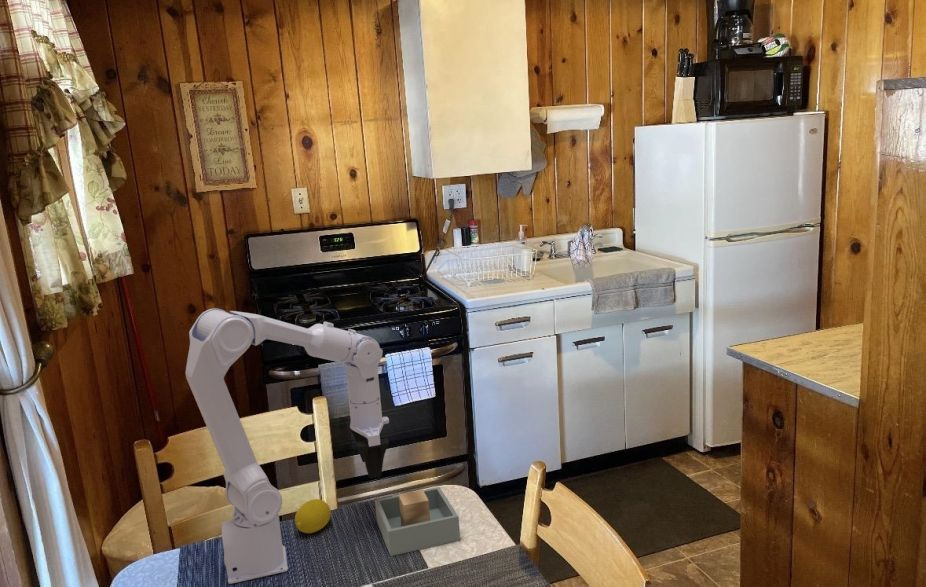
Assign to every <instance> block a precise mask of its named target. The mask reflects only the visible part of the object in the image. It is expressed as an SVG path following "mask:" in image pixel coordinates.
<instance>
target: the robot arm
mask: <svg viewBox="0 0 926 587" xmlns="http://www.w3.org/2000/svg"><path fill="white" fill-rule="evenodd" d="M188 336H189V348H188V349H189V350H188V354H187V360H186V366H185V373H184V374H185V380H187V383H188V385H189V388H190V390H191V392H192V395H193V396H194V399H195V402H196V404H197V407H198V409H199V411H200V414H201V416H202V418H203V421H204V423H205V425H206V427H207V430H208V433H209V436H210V437H211V440H212V442H213V444H214V446H215V449H216V451H217V453H218V454H217V455H218V456H219V460H220V461H221V463H222V466H223V468H224V472H223V478H224V480H225V496H226V500H227V501H228V503H229V504H231V506H233V507H234V508H233V509H234V511H233V514H232V515H233V517H232V518H231V519H229V520H226V521H223V522H221V538H222V546H223V554H224V555H223V563H224V566H225V568H226V576H227V584H229V585H231V584H236V583H241V582H245V581H249V580H254V579H255V580H256V579H258V578H263V577H268V576H271V575H276V574H279V573H280V574H281V573H285V572H287V571H288V570H289V568H288V559H287V552H286V546H285V545H283V540H282V539H283V538H282V533H281V532H282V531H281V524H280V515H279V513H280V511H281V509H282V506H283V498H282V494H281V492H280V490H279V489H277V488H276V487H274V486H273V485H272V484H271V482H270V481H269V478H268V475H266V473H265V471H264V470H263V469H262V467H261V465H260V464H259V463H258V460H257V458H256V456H255V453H254V451H253V448H252V446H251V444H250V440H249V438H248V436H247V433H246V431H245V428H244V427H243V426H244V425H243V423H242V421H241V419H240V416H239V414H238V411H237V409H236V406H235V403H234V401H233V399H232V397H231V394H230V392H229V389H228V386H227V384H226V382H225V376H226V374H227V372H228V371H229V369H230V367H231V366H232V365H233V364H234V363H235V362H236V361H238V359H239V358H240V357H241V356H242V355H243V354H244V353H245V352H247V350H248V349H249V348H250V346H251V345H253V346H258V345H260V344H261V343H263V341H265V340H270V341H276V342H281V343H285V344H290V345H295V346H300V347H303V348H304V350H305V352H306V353H307V355H309V356H310V357H313V358H319V359H323V360H328V361H332V362H336V363H341V364H344V366H345V377H346V386H347V396H348V405H349V406H348V407H349V416H350V423H349V426H348V430H349V431H350V433H351V434H352V435H353V437H354V440H355V445H356V447H357V449H358V452H359V455H360V459H361V461H362V463H364V464H365V469H366V473H367V476H368V477H369V479H376V478H380V477H382V473H383V465H384V459H385V455H386V451H387V449H388V447H389V443H390V442H389V440H388V438H383V439H381V436H380V434H381V431H382V429H383V427H384V425H387V424H389V423H390V419H389V417H388V416H383V413H382V412H383V411H382V403H381V392H380V391H381V390H380V382H379V381H380V380H379V364H380V362H381V360H382V358H383V352H384V351H383V349H381V346H380V344H379V342H378V341H377V340H376V339H375V338H374V337H371V336H368V335H365V334H361V333H357V331H356V330H354V329H351V328H348V330H345V329H342V328H341V329H340V328H338V327H334V323H332V322H328V321H323V324H322V323H315V324H313V325H312V326H310V327H308V328H307V327H303V326H299V325H296V324H292V323H289V322H285V321H282V320H279V319H275V318H271V317H267V316H264V315H261V314H258V313H257V314H256V313H250V312H243V311H236V310H229V312H227V311H226V310H224V309H221V308H209V309H208V310H205V311H203V312H202V313H201V314H200V315H199V316H198V317H197V318H196V320H195V322H194V323H193V325H192V327H191V328H190V330H189V332H188Z"/></svg>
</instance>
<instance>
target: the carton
mask: <svg viewBox="0 0 926 587" xmlns="http://www.w3.org/2000/svg"><path fill="white" fill-rule="evenodd" d="M423 490H424V489H419V490H415V491H408V492H404V493H399V494H397V495H398V496H399V507H400V518H401V526H402V527H403V526H408V525H412V524H417V523H421V522H426V521H430V511H429V500H428V498H427V497H426V495H425V493H424V491H423Z"/></svg>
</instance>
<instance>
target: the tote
mask: <svg viewBox="0 0 926 587" xmlns="http://www.w3.org/2000/svg"><path fill="white" fill-rule="evenodd" d="M422 490H423V491H424V493H425V495H426V497H427V498H428V500H429V511H430V521H426V522H421V523H417V524H412V525H408V526H403V527H402V526H401V518H400V507H399V496H398V494H397V495H393V496H387V497H384V498H379V499H378V498H377V499H375V500H374V503H375V515H376V522H377V525H378V528H379V531H380V533H381V536H382V539H383V541H384V544H385V546H386V548H387V551H388V553H389V556H390V557H394V556H397V555H401V554H406V553H410V552H415V551H419V550H424V549H428V548H433V547H437V546H441V545H442V546H443V545H446V544H450V543H454V542H459V541H461V532H460V518H459V514H457V511H456V510H455V509H454V507H453V506H452V503H451V502H450V501H449V499H448V498H447V496H446V494H445V493H444V492H443V490H442V488H441V487H440V486H437V487H432V488H426V489H422Z"/></svg>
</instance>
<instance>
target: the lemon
mask: <svg viewBox="0 0 926 587" xmlns="http://www.w3.org/2000/svg"><path fill="white" fill-rule="evenodd" d="M331 515H332V514H331V508H330V506H329V504H328V503H327V502H326V501H324V500H322V499H318V498H317V499H316V498H315V499H311V500H307V501H306V502H305V503H303V504H302V505H301V506H300V507H299V508H298V510H297V511H296V513H295V515H294V524H295V526H296V528H297V529H298V530H299V531H300V532H301V533H303V534H314V533H317V532H318V531H320V530H321V529H324V527H326V525H328V523H329V521H330V519H331Z"/></svg>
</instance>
